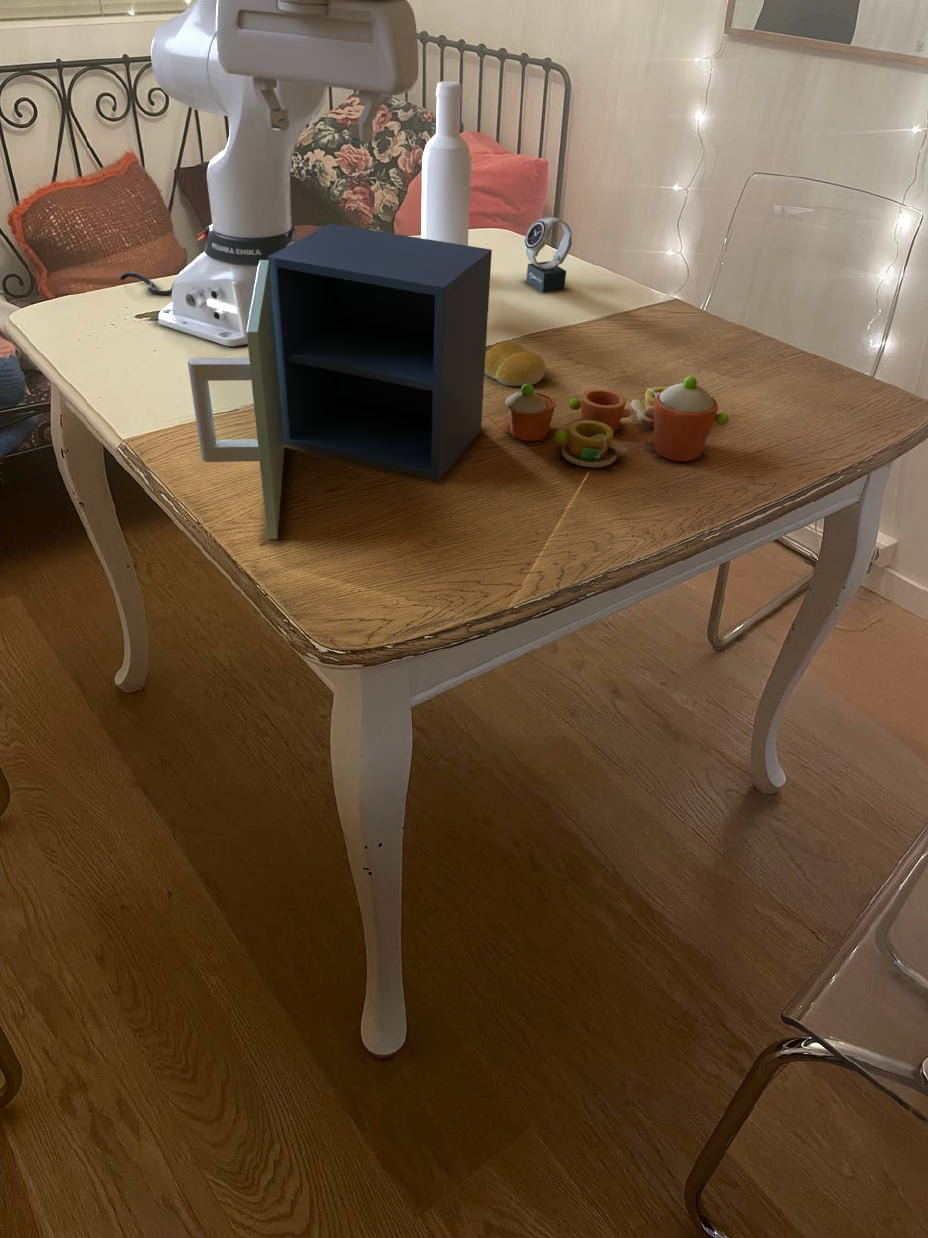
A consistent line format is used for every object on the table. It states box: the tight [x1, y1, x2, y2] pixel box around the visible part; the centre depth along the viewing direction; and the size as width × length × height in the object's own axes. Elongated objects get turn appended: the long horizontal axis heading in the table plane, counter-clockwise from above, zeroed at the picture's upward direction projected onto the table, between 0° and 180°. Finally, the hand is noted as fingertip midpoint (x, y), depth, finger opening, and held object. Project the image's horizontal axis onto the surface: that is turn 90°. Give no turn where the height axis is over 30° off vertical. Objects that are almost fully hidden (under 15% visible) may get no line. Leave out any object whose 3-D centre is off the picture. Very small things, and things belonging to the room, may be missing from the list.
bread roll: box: [484, 341, 546, 387], centre depth 130 cm, size 8×9×4 cm
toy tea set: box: [504, 376, 730, 468], centre depth 113 cm, size 26×16×10 cm, turn 104°
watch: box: [524, 216, 573, 293], centre depth 158 cm, size 6×8×11 cm
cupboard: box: [268, 223, 493, 481], centre depth 108 cm, size 14×20×22 cm
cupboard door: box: [187, 260, 286, 540], centre depth 97 cm, size 7×20×22 cm, turn 7°
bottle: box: [420, 80, 473, 246], centre depth 151 cm, size 8×8×30 cm
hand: (319, 135), depth 93 cm, fingers open, 8 cm apart
